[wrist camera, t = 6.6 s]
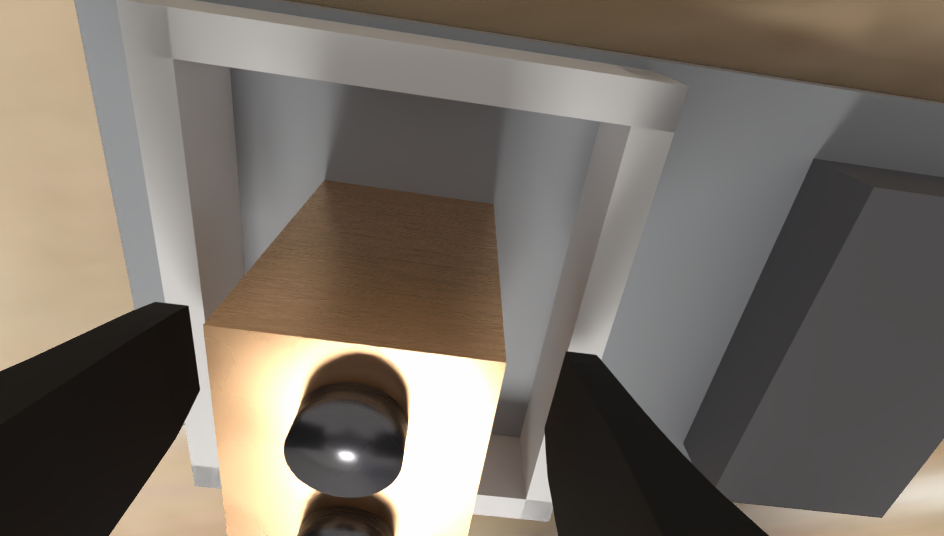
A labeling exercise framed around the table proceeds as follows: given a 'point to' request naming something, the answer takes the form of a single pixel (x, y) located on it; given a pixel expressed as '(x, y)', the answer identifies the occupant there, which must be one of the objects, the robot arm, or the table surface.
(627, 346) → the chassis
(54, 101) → the table surface
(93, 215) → the table surface
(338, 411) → the brown block with knobs
